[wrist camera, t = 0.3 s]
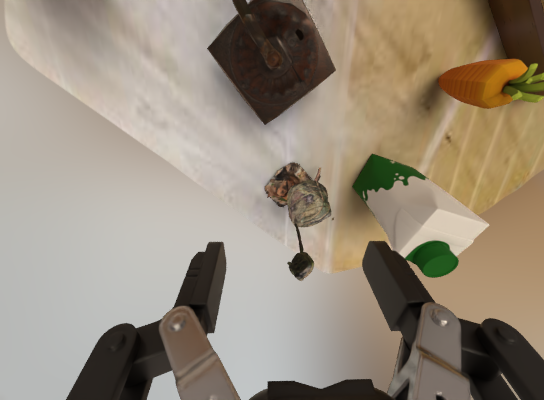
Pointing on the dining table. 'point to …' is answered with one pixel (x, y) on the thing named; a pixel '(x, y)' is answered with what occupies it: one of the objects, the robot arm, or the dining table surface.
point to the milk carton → (417, 215)
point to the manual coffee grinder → (272, 54)
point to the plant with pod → (300, 207)
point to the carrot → (492, 82)
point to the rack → (521, 31)
